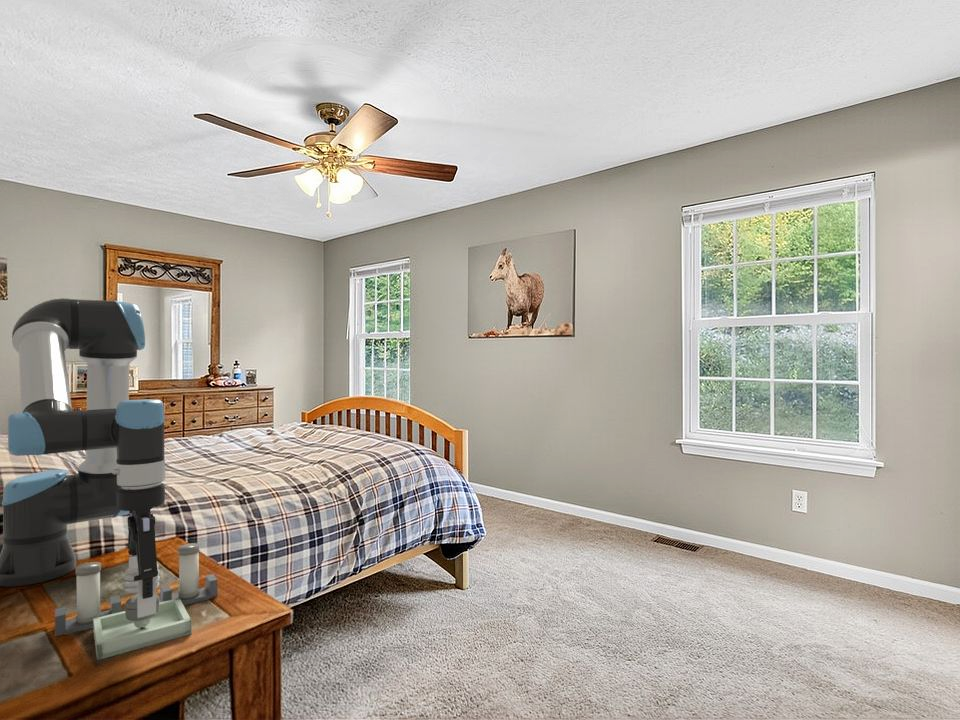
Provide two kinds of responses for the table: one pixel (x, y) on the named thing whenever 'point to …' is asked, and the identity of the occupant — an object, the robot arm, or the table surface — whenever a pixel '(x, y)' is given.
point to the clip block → (115, 606)
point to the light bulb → (132, 602)
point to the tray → (123, 636)
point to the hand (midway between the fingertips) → (141, 601)
